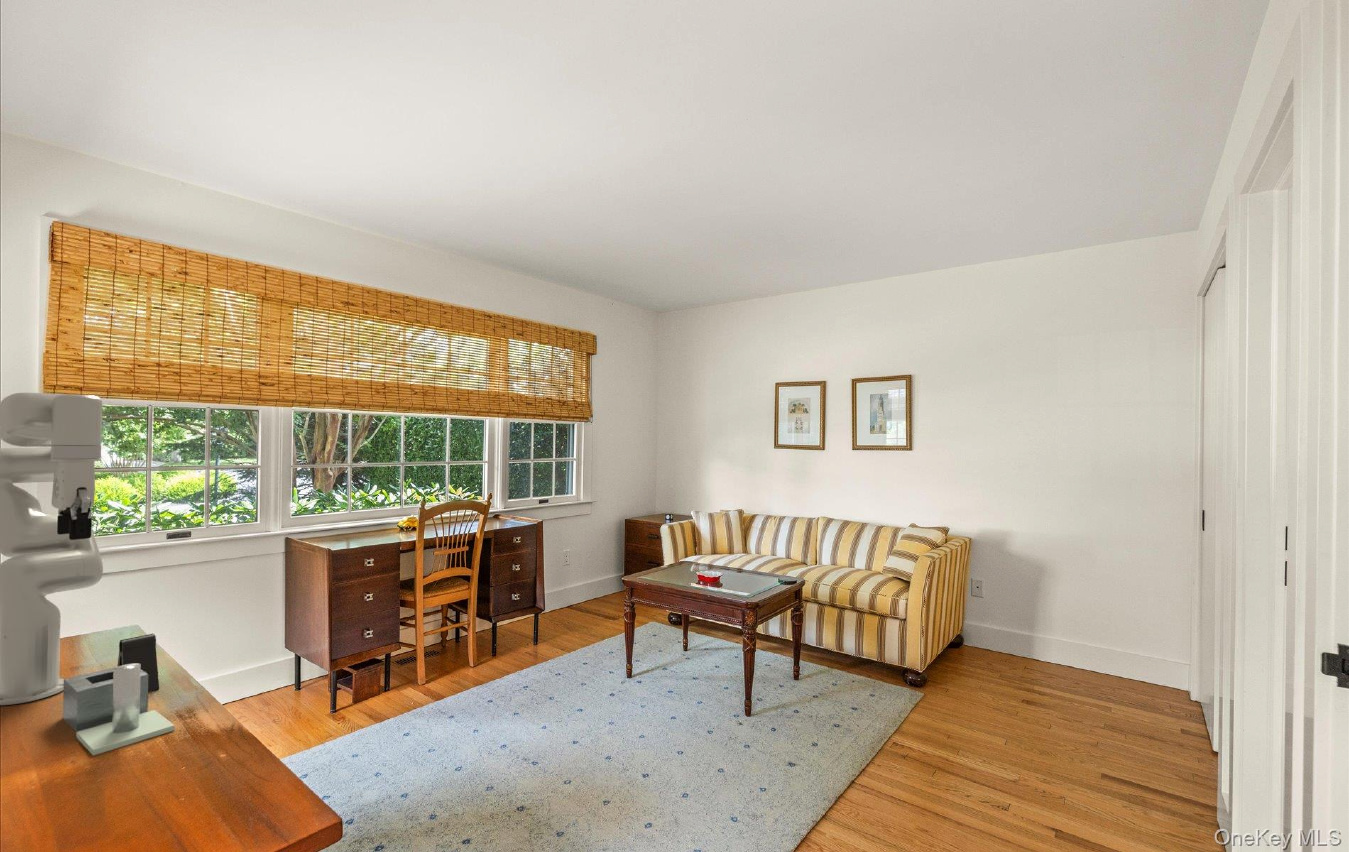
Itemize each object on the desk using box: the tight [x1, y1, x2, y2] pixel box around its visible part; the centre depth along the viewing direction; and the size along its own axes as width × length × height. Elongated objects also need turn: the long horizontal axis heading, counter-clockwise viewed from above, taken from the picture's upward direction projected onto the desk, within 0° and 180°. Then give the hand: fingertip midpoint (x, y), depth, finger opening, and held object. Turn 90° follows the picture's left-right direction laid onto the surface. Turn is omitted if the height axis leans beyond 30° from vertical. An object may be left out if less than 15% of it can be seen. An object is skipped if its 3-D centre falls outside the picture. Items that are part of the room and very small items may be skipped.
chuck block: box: [62, 666, 149, 733], centre depth 129 cm, size 11×11×8 cm
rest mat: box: [75, 709, 176, 756], centre depth 121 cm, size 12×12×1 cm
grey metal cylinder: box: [112, 663, 141, 733], centre depth 121 cm, size 4×4×12 cm
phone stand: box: [116, 633, 160, 693], centre depth 143 cm, size 9×6×12 cm, turn 54°
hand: (73, 536), depth 128 cm, fingers open, 9 cm apart
